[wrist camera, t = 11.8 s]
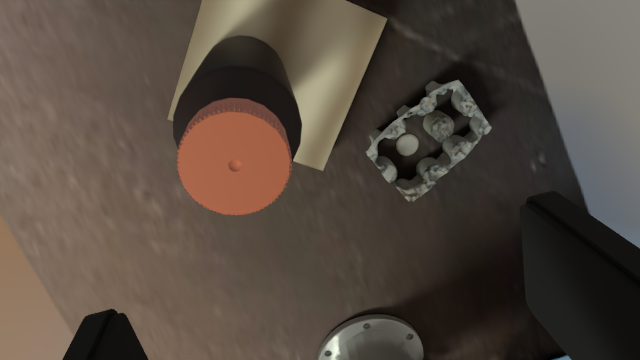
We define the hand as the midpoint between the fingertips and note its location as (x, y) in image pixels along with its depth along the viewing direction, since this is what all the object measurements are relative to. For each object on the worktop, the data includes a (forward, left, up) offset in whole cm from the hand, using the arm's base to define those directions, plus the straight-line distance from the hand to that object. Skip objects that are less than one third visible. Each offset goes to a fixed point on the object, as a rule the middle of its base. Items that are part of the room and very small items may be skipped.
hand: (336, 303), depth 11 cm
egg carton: (-15, +1, -34) cm, 37 cm away
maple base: (0, 0, -33) cm, 33 cm away
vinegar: (+2, +1, -31) cm, 31 cm away
